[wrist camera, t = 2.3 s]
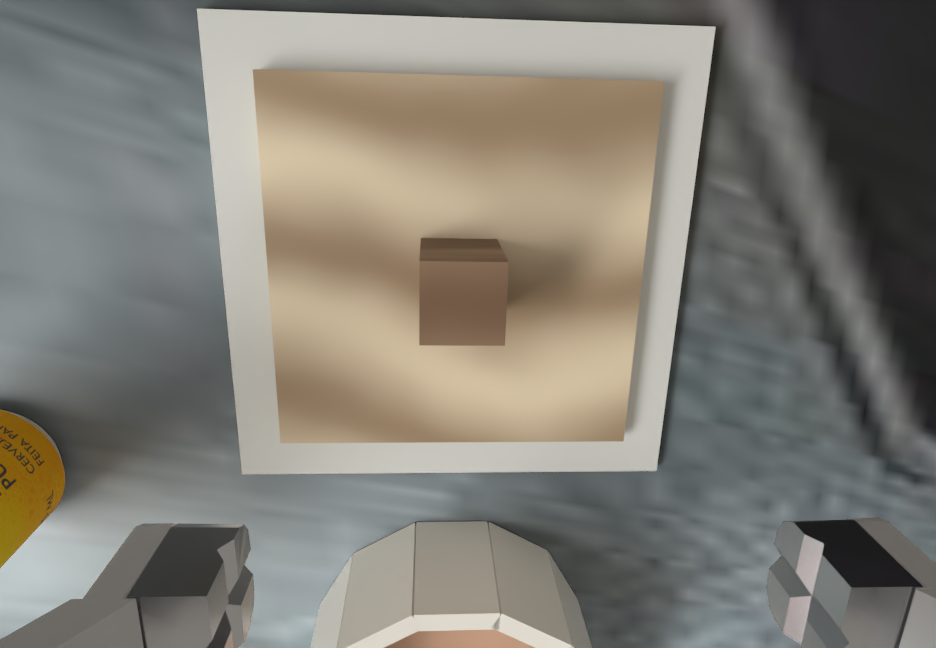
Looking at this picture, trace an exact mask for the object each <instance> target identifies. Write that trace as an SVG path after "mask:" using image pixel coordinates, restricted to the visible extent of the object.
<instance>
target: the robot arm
mask: <svg viewBox="0 0 936 648" xmlns="http://www.w3.org/2000/svg"><path fill="white" fill-rule="evenodd" d="M774 545H775V546H776V548H777V550H778V551H779V553H780V554H781V557H780V558H779V559H778V560H777V561H776V562H775V563H774V564H773V565H772V566H771V567H770V568H769V573H768V579H767V586H766V588H767V595H768V602H769V607H770V610H771V612H772V615H773V617H774V620H775V621H776V623H777V624H778V626H779V627H780V629H781V631H782V632H783V633H784V634H786V635H787V636H789V637H790V638H792V639H793V640H795V641H796V642H798V643H799V644H801V648H936V564H935V563H934V562H933V561H932V560H931V559H930V558H929V557H928V556H927V555H925V554H924V553H923V552H922V551H921V550H920V549H919V548H918V547H917V546H915V545H914V544H913V543H912V542H911V541H910V540H909V539H908V538H906V537H905V536H904V535H903V534H902V533H901V532H900V531H899V530H898V529H896V528H895V527H894V526H893V525H892V524H891V523H890V522H888V521H885V520H883V519H880V518H859V519H846V520H815V521H783V522H782V523H781V525H780V526H779V528H778V529H777V533H776V538H775V542H774ZM250 549H251V548H250V540H249V533H248V529H247V528H246V526H245V525H242V524H142V525H139V526H137V527H135V528H134V529H133V531H132V532H131V533H130V535H129V536H128V538H127V539H126V540H125V542H124V543H123V544H122V546H121V547H120V548H119V550H118V551H117V553H116V554H115V555H114V557H113V558H112V559H111V561H110V562H109V564H108V565H107V566H106V568H105V569H104V570H103V572H102V573H101V574H100V576H99V577H98V579H97V580H96V581H95V583H94V584H93V585H92V587H91V588H90V590H89V591H88V592H87V594H86V595H85V596H84V598H83V599H71V600H69V601H68V602H66V603H64V604H62V605H60V606H59V607H57V608H55V609H53V610H52V611H50V612H48V613H46V614H45V615H43V616H41V617H39V618H38V619H36V620H34V621H32V622H30V623H29V624H27V625H25V626H23V627H22V628H20V629H18V630H16V631H15V632H13V633H11V634H9V635H8V636H6V637H4V638H2V639H0V648H238V647H239V646H240V645H242V644H243V643H244V642H245V639H246V636H247V633H248V630H249V627H250V623H251V617H252V611H253V606H254V581H253V574H252V573H251V572H250V571H249V570H248V569H247V568H246V566H245V565H244V564H245V562H246V559H247V557H248V554H249V552H250Z"/></svg>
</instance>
